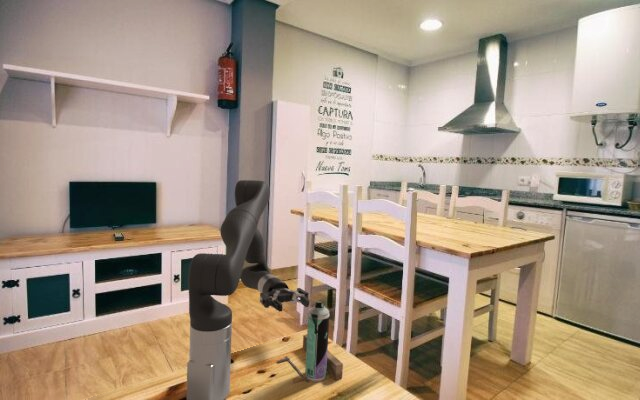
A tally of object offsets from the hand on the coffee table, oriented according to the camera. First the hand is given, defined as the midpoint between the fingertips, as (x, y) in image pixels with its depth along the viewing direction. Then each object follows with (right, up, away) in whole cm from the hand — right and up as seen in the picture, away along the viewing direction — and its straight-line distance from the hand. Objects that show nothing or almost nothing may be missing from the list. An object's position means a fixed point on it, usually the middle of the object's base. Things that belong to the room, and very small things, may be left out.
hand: (294, 305), depth 100 cm
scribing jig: (+3, -15, -5) cm, 16 cm away
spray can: (+6, -16, -9) cm, 19 cm away
